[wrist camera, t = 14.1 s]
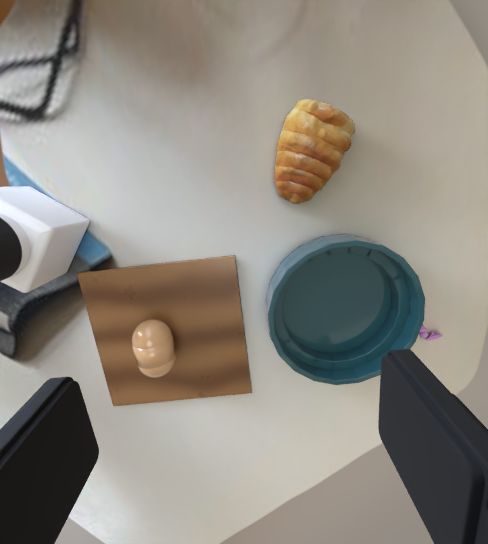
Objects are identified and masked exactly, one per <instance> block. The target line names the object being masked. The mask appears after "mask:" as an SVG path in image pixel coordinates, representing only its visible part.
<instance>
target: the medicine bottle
mask: <svg viewBox="0 0 488 544" xmlns="http://www.w3.org/2000/svg"><path fill="white" fill-rule="evenodd" d="M88 225H89V219H87V218H86V217H84V216H82V215H80V214H78V213H77V212H75V211H73V210H71V209H69V208H68V207H66V206H64V205H62V204H60V203H59V202H57V201H55V200H53V199H51V198H50V197H48V196H46V195H44V194H42V193H41V192H39V191H37V190H35V189H33V188H32V187H29V186H25V187H0V281H1V282H3V283H5V284H7V285H9V286H11V287H13V288H15V289H17V290H19V291H21V292H23V293H27V292H29V291H31V290H33V289H35V288H37V287H39V286H41V285H43V284H45V283H47V282H49V281H51V280H53V279H55V278H57V277H59V276H61V275H63V274H65V273H66V272H67V271H68V269H69V266H70V264H71V262H72V260H73V258H74V255H75V253H76V251H77V249H78V247H79V244H80V242H81V240H82V238H83V236H84V233H85V231H86V229H87V227H88Z"/></svg>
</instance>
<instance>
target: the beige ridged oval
mask: <svg viewBox="0 0 488 544" xmlns="http://www.w3.org/2000/svg"><path fill="white" fill-rule="evenodd" d="M132 346H133V350H134V354H135V359H136V363H137V366H138V368H139V370H140V371H141V372H142V373H143V374H144V375H146V376H148V377H152V378H158V377H162V376H164V375H166V374H167V373H168V372H170V371H171V369H172V368H173V366H174V364H175V361H176V352H175V347H174V342H173V336H172V332H171V330H170V328H169V326H168V325H167V324H166V323H164V322H163V321H160V320H157V319H149V320H146V321H143V322H142V323H140V324H139V325H138V326H137V327H136V328H135V330H134V332H133V335H132Z"/></svg>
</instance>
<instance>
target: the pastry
mask: <svg viewBox="0 0 488 544" xmlns="http://www.w3.org/2000/svg"><path fill="white" fill-rule="evenodd" d="M354 132H355V124H354V123H353V120H352V119H351V118H349V116H348V115H347V114H345V113H343V112H342V111H340V110H339V109H337V108H335V107H333V106H332V105H329V104H325V103H321V102H320V101H315V100H310V99H305V100H300V101H299V102H297V104H296V106H295V107H294V109H293V110H292V111H291V112H290V113H289V114H288V116H287V117H286V118H285V120H284V124H283V129H282V132H281V135H280V138H279V140H278V144H277V153H276V166H275V176H274V178H275V185H276V188H277V191H278V194H279V195H280V197H282V198H284V199H285V200H288V201H290V202H292V203H295V204H300V203H302V202H305V201H308V200H310V199H311V198H312V197H313V196H314V195H315V193H316V192H317V191H319V190H321V189H322V187H323V186H324V185H325V184H326V182H327V181H328V180H329V179H330V177H331V176H332V174H333V173H334V172H335V171H337V170H338V169H339V167H340V162H341V160H342V158H343V155H344V153H345V152H346V151H347V150H348V149H349V148H350V146H351V137H352V135H353V134H354Z"/></svg>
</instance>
